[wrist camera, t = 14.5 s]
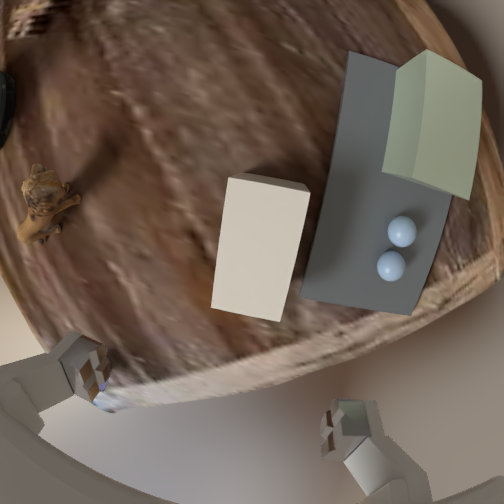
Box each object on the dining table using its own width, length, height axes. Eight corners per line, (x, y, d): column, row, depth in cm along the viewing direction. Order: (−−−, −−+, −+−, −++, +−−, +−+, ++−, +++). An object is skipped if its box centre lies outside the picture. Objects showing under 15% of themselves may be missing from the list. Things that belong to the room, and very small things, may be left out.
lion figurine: (73, 152, 27) (21, 159, 19) (95, 179, 28) (42, 191, 20) (36, 231, 32) (-6, 251, 23) (54, 256, 33) (13, 280, 24)
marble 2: (378, 244, 25) (389, 256, 23) (401, 249, 25) (414, 261, 23) (369, 270, 27) (378, 285, 24) (392, 274, 27) (403, 288, 24)
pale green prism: (396, 70, 19) (426, 49, 13) (444, 92, 19) (482, 80, 13) (381, 171, 23) (412, 178, 17) (430, 188, 23) (468, 200, 16)
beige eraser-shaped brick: (243, 172, 26) (228, 177, 19) (304, 183, 26) (310, 192, 19) (227, 274, 30) (211, 307, 23) (281, 285, 29) (279, 321, 23)
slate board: (347, 54, 20) (349, 50, 20) (460, 100, 20) (465, 99, 19) (299, 292, 30) (299, 297, 29) (407, 311, 29) (410, 315, 28)
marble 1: (385, 212, 25) (399, 212, 22) (408, 219, 25) (424, 220, 22) (380, 242, 25) (394, 245, 22) (403, 248, 25) (419, 251, 22)
